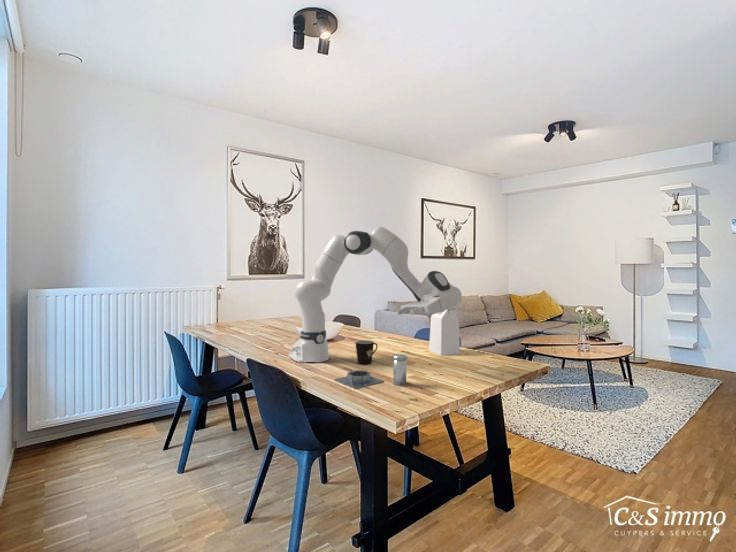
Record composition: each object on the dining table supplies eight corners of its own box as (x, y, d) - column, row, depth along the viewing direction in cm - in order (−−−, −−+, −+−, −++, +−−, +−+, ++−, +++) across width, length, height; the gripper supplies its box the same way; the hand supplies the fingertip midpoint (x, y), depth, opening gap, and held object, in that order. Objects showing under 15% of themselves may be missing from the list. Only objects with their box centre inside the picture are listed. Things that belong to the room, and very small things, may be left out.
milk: (460, 353, 203) (460, 303, 202) (441, 355, 198) (441, 304, 198) (447, 349, 214) (447, 301, 213) (429, 350, 210) (429, 302, 209)
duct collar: (334, 380, 155) (334, 372, 155) (361, 374, 164) (361, 367, 164) (355, 388, 144) (355, 380, 144) (383, 381, 153) (383, 374, 153)
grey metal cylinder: (390, 383, 151) (390, 355, 151) (400, 381, 154) (400, 353, 154) (399, 386, 147) (399, 357, 147) (409, 384, 150) (409, 355, 150)
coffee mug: (357, 366, 177) (357, 344, 177) (353, 361, 186) (353, 340, 185) (382, 364, 180) (382, 343, 180) (376, 360, 189) (376, 339, 189)
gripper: (414, 298, 175) (389, 305, 168) (444, 295, 157) (417, 304, 150) (417, 311, 175) (392, 320, 168) (448, 311, 157) (421, 320, 150)
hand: (404, 312), depth 159 cm, fingers open, 8 cm apart
